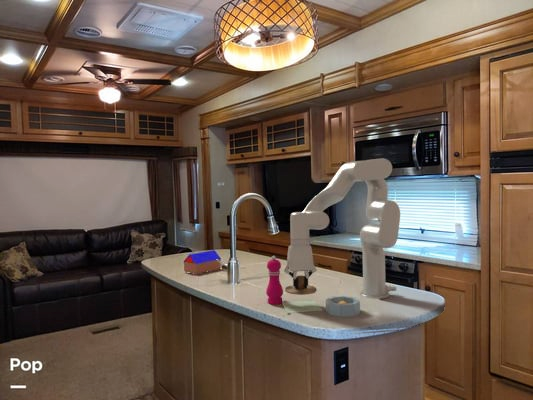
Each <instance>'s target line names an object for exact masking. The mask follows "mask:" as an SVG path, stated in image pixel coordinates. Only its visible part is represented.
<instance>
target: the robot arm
mask: <svg viewBox="0 0 533 400" xmlns="http://www.w3.org/2000/svg"><path fill="white" fill-rule="evenodd" d="M392 171H393V165H392V162H391V161H390V160H389V159H387V158H375V159H366V160H356V161H349V162H344V163H343V164H342V165H341V166H340V168H339V169H338V170H337V172H336V173H335V174H334V176H333V177H332V179H331V180H330V181H329V183H328V184H327V186H326V187H325V188H324V189H322V190H321V191H320V192H319V193H318V194H317V195H315V196H314V197H313V198H312V199H311V200H310V201H309V202H308V204H307V205H306V207H305V208H304V210H303V211H295V212H292V213H290V216H289V217H290V218H289V221H290V223H289V224H290V225H289V226H290V245H288V248H287V249H288V250H287V257H286V258H287V259H286V260H287V263H286V265H285V268H284V270H283V272H284V273H285V274H287V275H289V276H290V277H291V278H292V285H293V286H295V289H298V280H297V276H298V275H297V272H304V276H305V288H306V289H307V286H308V285H309V279H310V277H311V276H312V275H313V274H314V273H316V272H317V271H318V269H317V268H316V266H315V263H314V257H313V249H312V246H311V244H313V242H314V239H311V238H310V230H315V231H316V230H319V231H320V230H325V228H327V227H329V224H330V218H329V215H328V214H327V213H326V212H324V211H325V210H326V209H328V207H331V206H333V205H335V204H337V203H339V202H341V201H342V200H343V199H344V198H345V197H346V196H347V194H348V192H349V191H350V190H351V189H352V187H353V185H354V184H355V183H357V182H365V183H366V187H367V199H366V206H365V207H366V208H365V216H366V218H367V219H368V220H370V221H373V222H376V223H377V222H378V223H379V224H375V223H369V224H366V225H364V226H363V227H362V228H361V229H360V232H359V238H360V244H361V249H362V251H361V252H362V282H363V283H362V285H363V289H362V290H361V291H360V292H359V295H360V297H363V298H368V299H379V300H383V299H387V298H389V297H390V292H396V291H397V286H391V285H386V256H385V255H386V254H385V251H384V249H391V248H394V246H396V244H397V242H398V237H399V230H400V223H401V209H400V207H399V205H398V203H397V202H396V201H394V200H390V199H388V194H389V193H388V192H389V191H388V189H389V188H388V185H387V182H386V181H385V179H387V178H388V177H390V176H391V173H392Z"/></svg>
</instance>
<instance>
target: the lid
mask: <svg viewBox="0 0 533 400" xmlns="http://www.w3.org/2000/svg"><path fill="white" fill-rule="evenodd" d="M296 277H297V280H298V289H295V286H293V284H292V285H289V286H286V287H285V290H284V291H285V293H288V294H290V295H298V296H300V295H301V296H302V295H312V294H315V293H317V291H318V290H317V288H316V286H313V285H309V284H308V286H307V289H306V288H305V275H302V274H301V275H300V274H299V275H296Z"/></svg>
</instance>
